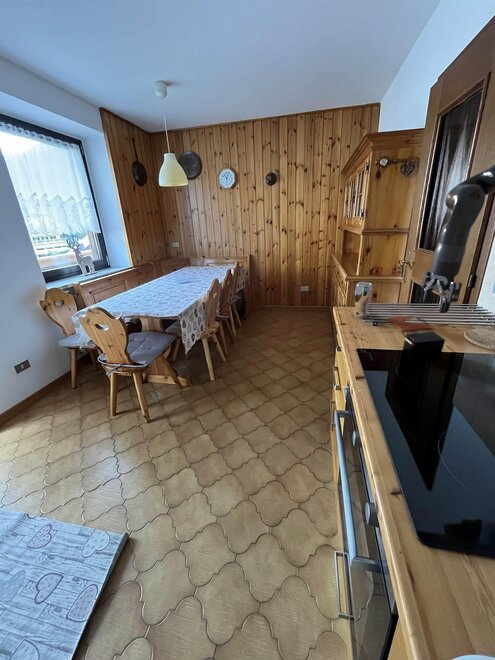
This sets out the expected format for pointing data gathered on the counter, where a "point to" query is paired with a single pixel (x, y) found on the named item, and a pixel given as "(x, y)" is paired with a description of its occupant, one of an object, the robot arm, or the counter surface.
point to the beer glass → (362, 299)
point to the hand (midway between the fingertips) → (434, 307)
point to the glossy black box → (423, 345)
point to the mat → (408, 324)
